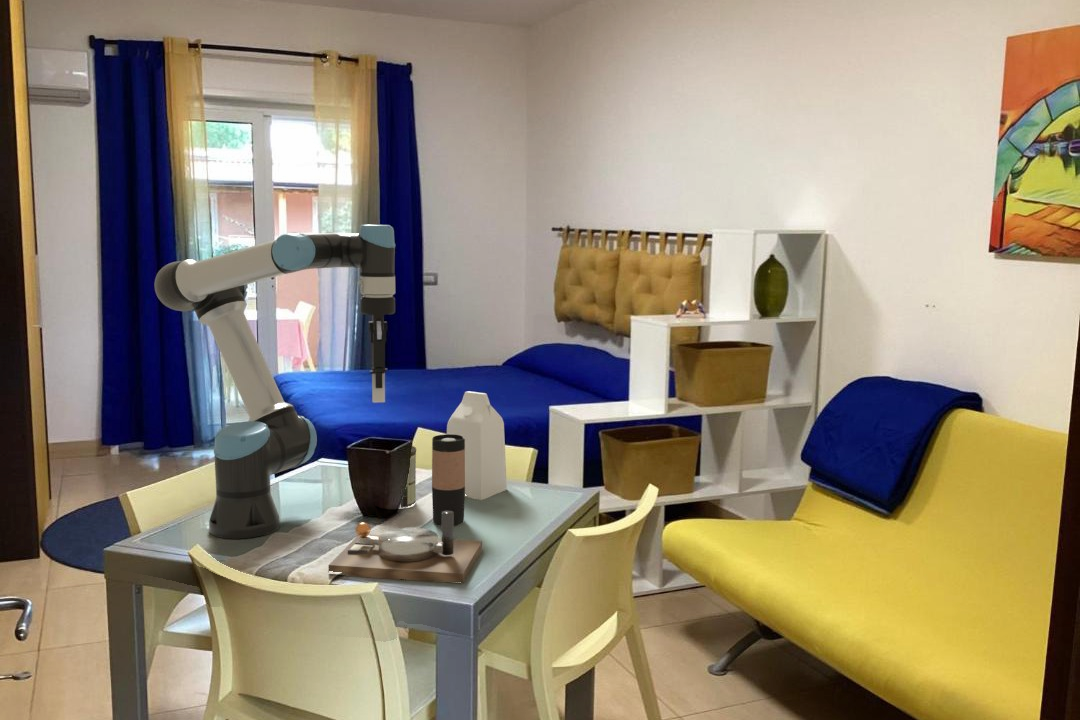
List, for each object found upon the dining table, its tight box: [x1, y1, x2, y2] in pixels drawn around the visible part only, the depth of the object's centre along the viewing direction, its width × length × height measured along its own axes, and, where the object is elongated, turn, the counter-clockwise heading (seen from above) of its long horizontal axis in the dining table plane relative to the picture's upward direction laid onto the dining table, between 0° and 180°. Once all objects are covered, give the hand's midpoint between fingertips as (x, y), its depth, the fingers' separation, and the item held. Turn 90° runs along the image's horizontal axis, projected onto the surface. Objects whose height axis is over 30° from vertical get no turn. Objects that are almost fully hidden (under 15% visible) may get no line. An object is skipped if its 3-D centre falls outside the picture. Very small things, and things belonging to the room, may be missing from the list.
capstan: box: [355, 511, 455, 562], centre depth 190 cm, size 21×12×9 cm, turn 76°
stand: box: [327, 533, 483, 584], centre depth 191 cm, size 27×19×3 cm
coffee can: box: [401, 445, 417, 508], centre depth 229 cm, size 10×10×14 cm
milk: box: [446, 390, 508, 501], centre depth 241 cm, size 12×12×26 cm
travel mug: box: [431, 433, 466, 527], centre depth 216 cm, size 8×8×20 cm
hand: (378, 401), depth 207 cm, fingers closed
